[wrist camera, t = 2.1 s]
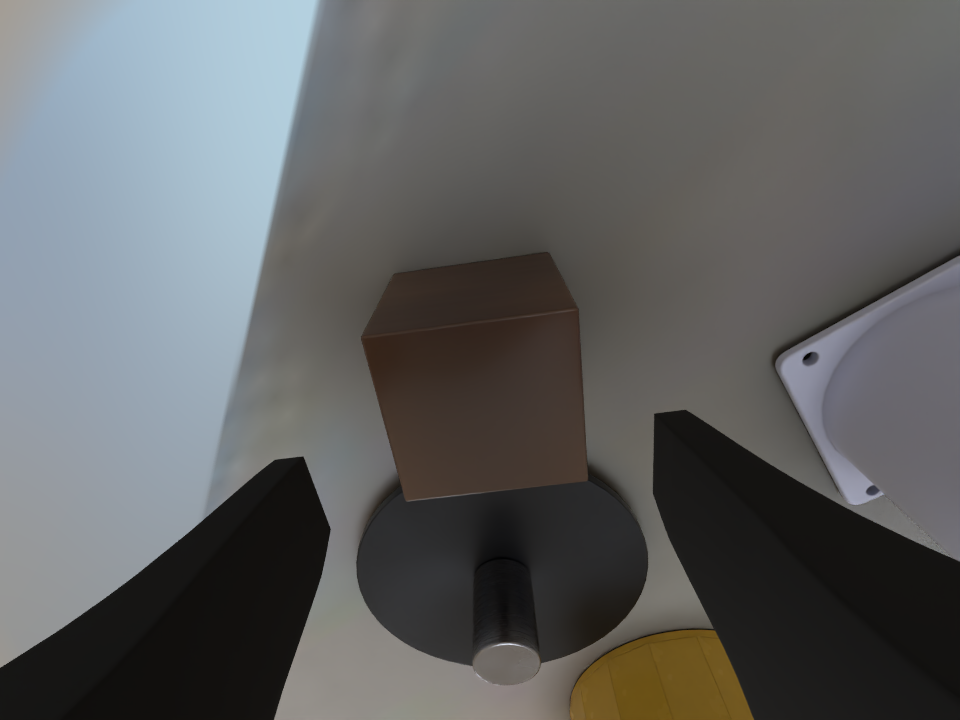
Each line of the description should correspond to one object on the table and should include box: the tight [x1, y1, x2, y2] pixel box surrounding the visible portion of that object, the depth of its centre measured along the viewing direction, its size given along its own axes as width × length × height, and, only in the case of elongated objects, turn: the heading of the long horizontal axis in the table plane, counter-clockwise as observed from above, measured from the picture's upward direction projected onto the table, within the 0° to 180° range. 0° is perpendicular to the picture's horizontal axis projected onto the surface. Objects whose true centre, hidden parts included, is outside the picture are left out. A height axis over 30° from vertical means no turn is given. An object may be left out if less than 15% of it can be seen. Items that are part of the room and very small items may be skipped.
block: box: [361, 252, 588, 501], centre depth 14 cm, size 5×5×5 cm
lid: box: [356, 474, 648, 685], centre depth 19 cm, size 12×12×5 cm
